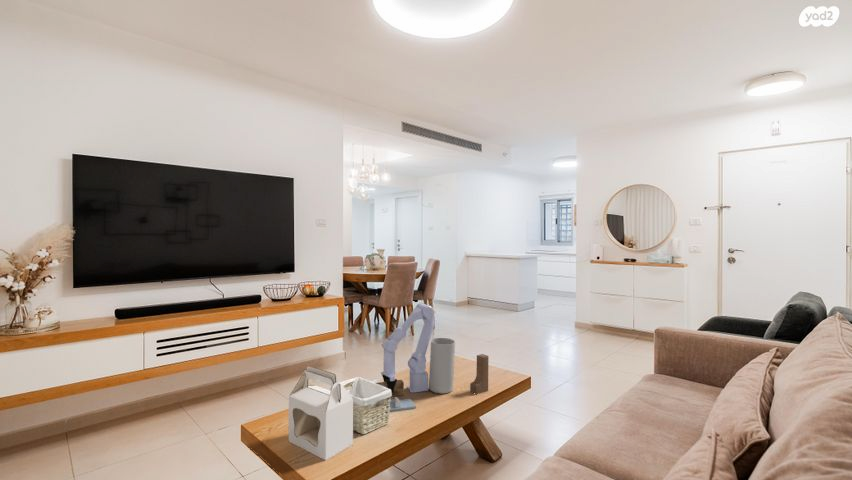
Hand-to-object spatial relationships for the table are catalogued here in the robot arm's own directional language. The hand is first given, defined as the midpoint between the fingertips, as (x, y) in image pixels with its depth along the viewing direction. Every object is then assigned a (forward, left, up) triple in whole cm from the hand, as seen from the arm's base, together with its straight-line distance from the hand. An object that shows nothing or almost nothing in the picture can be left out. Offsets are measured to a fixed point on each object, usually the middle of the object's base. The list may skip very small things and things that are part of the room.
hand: (388, 390), depth 195 cm
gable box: (+35, +37, -2) cm, 51 cm away
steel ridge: (0, +15, -2) cm, 15 cm away
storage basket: (+18, +24, -2) cm, 30 cm away
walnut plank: (0, 0, -2) cm, 2 cm away
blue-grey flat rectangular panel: (0, +15, -2) cm, 15 cm away
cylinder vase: (-27, +2, -2) cm, 27 cm away
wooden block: (-45, +10, -2) cm, 46 cm away
